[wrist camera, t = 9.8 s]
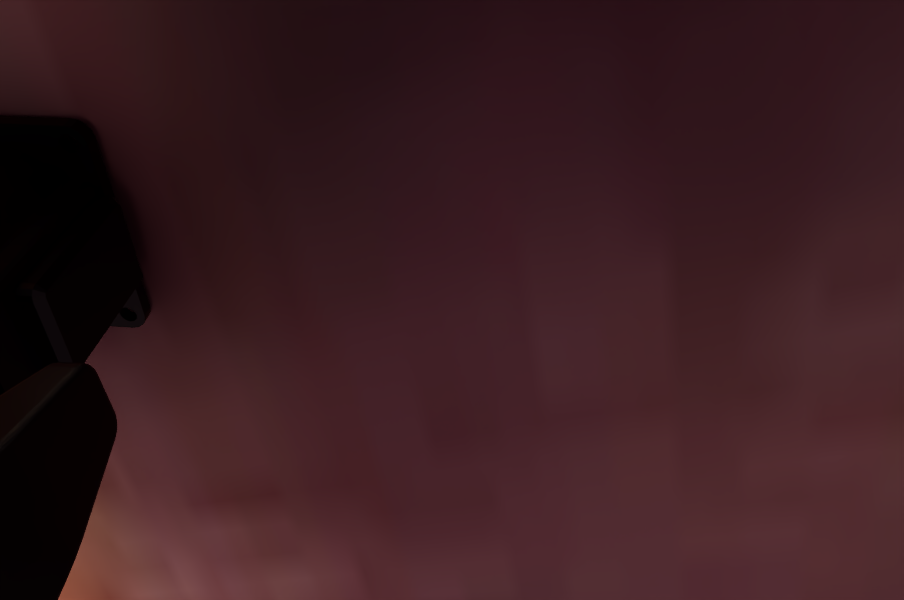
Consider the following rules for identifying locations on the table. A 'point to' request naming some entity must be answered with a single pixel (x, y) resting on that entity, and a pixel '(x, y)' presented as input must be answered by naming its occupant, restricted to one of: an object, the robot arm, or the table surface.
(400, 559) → the table surface
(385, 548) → the table surface
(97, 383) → the robot arm
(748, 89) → the table surface
